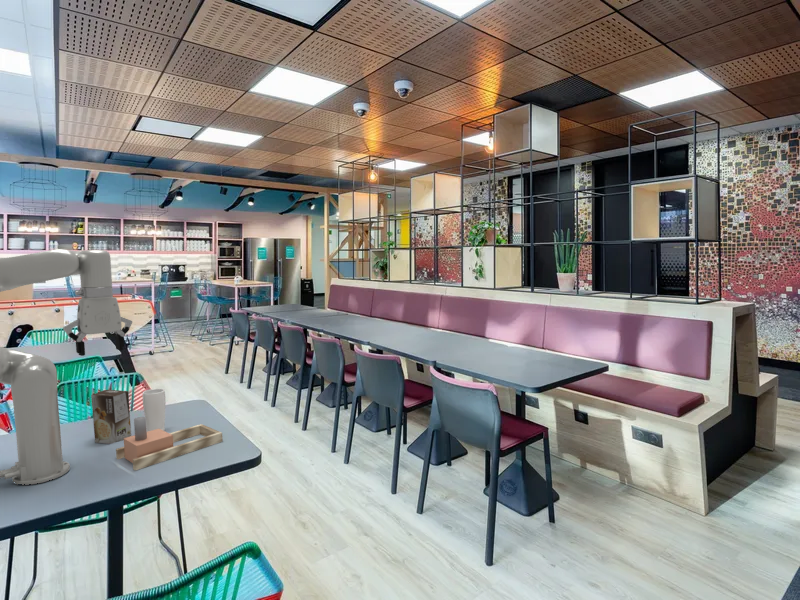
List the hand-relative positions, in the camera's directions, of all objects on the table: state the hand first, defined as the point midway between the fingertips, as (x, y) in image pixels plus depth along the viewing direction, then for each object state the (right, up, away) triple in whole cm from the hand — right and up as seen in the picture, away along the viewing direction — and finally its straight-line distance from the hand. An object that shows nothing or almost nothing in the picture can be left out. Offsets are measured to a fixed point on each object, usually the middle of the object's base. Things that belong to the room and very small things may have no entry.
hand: (101, 352), depth 135 cm
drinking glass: (+4, -31, +23) cm, 38 cm away
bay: (+17, -32, +7) cm, 37 cm away
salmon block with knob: (+13, -31, +2) cm, 34 cm away
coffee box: (-8, -31, +18) cm, 37 cm away
